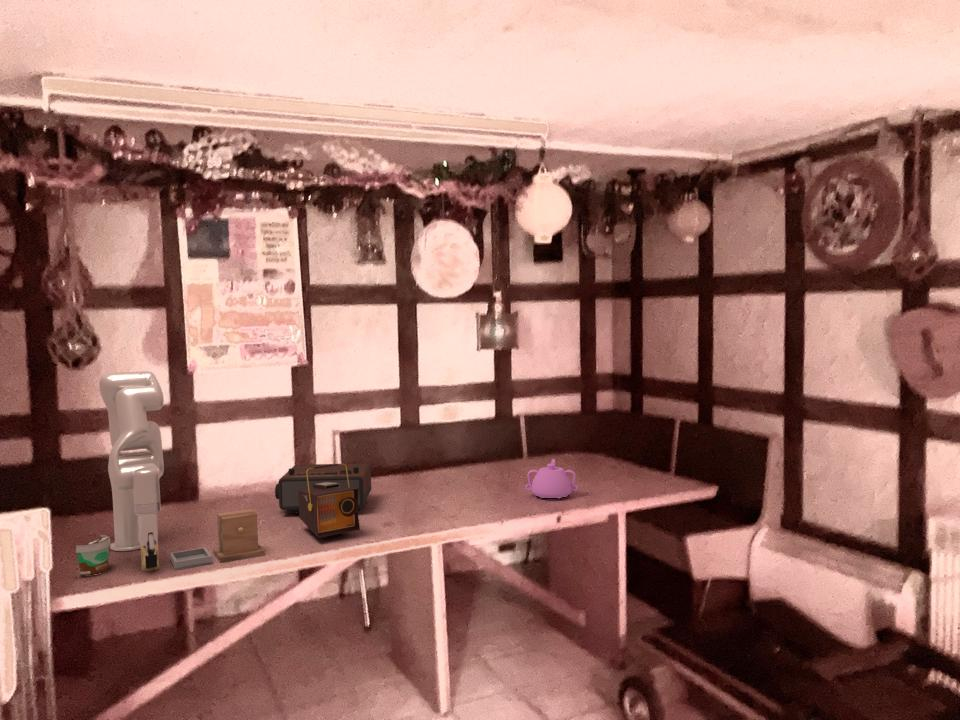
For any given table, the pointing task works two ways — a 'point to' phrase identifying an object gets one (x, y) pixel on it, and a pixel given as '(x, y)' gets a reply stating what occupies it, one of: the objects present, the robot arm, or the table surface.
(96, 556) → the food container
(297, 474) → the radio receiver
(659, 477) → the table surface
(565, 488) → the purple lidded pot
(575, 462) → the table surface
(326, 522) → the vintage portable radio
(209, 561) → the tray
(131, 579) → the table surface
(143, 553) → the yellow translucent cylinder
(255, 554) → the mounted unit
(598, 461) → the table surface
